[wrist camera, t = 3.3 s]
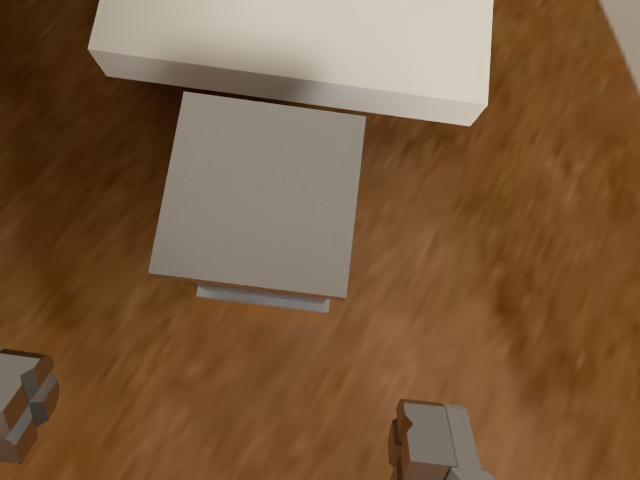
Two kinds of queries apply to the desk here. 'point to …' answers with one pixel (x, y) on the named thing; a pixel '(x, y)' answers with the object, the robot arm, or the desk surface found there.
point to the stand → (309, 51)
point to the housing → (260, 202)
